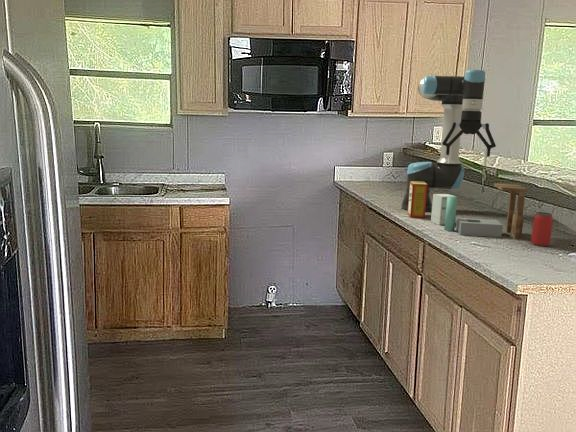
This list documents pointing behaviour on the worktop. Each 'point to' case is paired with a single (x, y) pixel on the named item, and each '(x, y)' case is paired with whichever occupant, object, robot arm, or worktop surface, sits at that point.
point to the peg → (450, 213)
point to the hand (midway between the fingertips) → (466, 164)
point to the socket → (479, 227)
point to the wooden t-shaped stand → (513, 219)
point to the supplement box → (439, 208)
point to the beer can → (542, 229)
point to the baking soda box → (417, 199)
